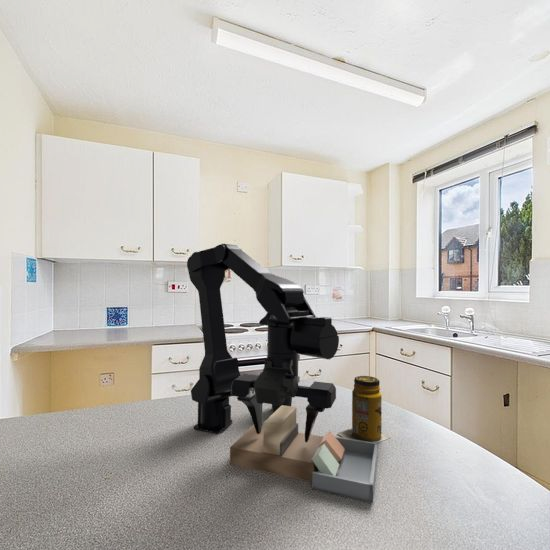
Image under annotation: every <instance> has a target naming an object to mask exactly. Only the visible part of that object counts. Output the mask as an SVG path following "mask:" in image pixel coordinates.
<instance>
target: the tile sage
mask: <svg viewBox="0 0 550 550" xmlns="http://www.w3.org/2000/svg"><path fill="white" fill-rule="evenodd" d="M312 461H313V462H314V464H315V465H316V466H317V468H318V469H319V470H320V472H321V473H323V474H328V475H333V476H336V473H337V470H338V467H339V463H338V462H337V461H336V459H335V458H334V457H333V455H332V454H331V452H330V451H329V450H328V448H327V447H326V446H325V444H323V445H322V446H320V447H319V448H318V449H317V451H316V452H315V454H314V456H313V458H312ZM319 470H318V471H319Z"/></svg>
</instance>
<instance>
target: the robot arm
mask: <svg viewBox="0 0 550 550" xmlns="http://www.w3.org/2000/svg"><path fill="white" fill-rule="evenodd" d="M186 267H187V270H188V276H189V280H190V282H191V284H192V285H193V286H194V288H195V289H196V290H197V292H198V301H199V308H200V309H199V310H200V320H201V327H202V328H201V329H202V337H203V346H204V348H203V349H204V356H203V359H202V360H201V363H200V366H199V368H198V369H199V370H198V371H199V372H198V373H199V375H198V377H199V378H198V380H197V381H196V382H195V384H194V386H193V387H192V388H191V389H190V394H191V395H190V396H191V400H192V402H196V403H197V423H196V424H194V425H193V429H194V430H197V431H202V432H203V431H204V432H208V433H214V434H220V433H222V432H223V431H224V430H225V429H226V428H227V427H228V426H229V425H232V423H233V419H232V417H231V416H232V405H231V404H230V397H236V399H237V401H238V402H242V404H244V405H245V406H246V407H247V410H248V412H249V414H250V417H251V420H252V423H253V425H254V426H255V429H256V432H257V434H260V433H261V428H262V427H263V404H268V405H272V404H273V405H274V406H280V405H282V404H283V403H284V400H285V398H288V397H292V399H293V398H295V397H299V398H304V399H306V401H307V403H308V404H307V405H306V407H305V412H306V418H305V428H304V433H305V442H308V440H309V437H310V435H312V431H313V428H314V425H315V422H316V420H317V416H318V415H319V413H323V412H325V409H331V408H332V406H333V405H334V403H335V401H336V400H337V399H336V398H337V388H336V386H335V384H334V383H332V382H324V381H313V382H312V384H311V385H310V386H308V385H307V386H306V385H299V383H300V377H301V376H299V361H300V360H301V359H300V358H301V357H300V356H301V355H302V356H307V357H312V358H316V359H317V358H318V359H323V360H331V359H333V358H334V357H335V355H336V354H337V351H338V348H339V343H340V337H339V334H338V331H337V329H336V327H335V326H334V325H333V324H332V322H333V321H332V319H333V318H332V317H331V316H320V317H316V314H315V313H314V311H313V310H312V308H311V306H310V304H309V303H308V300H307V299H306V297H305V296H304V293H305V292H304V289H303V287H301V286H300V285H299V284H298V283H295V282H294V281H292V280H290V279H287V278H284V277H282V276H278V275H275V274H273V273H272V272H271V271H269V270H268V269H266V268H265V267H264V266H263V265H261V264H260V263H259V262H257V261H256V260H255V259H253V258H252V256H249V255H248V253H246V252H245V251H243V250H242V248H241V247H240V246H239V245H237V244H228V243H220V244H217V245H216V246H214V247H211V248H206V249H203V250H199V251H195V252H194V251H193V253H192V254H191V255H190V256H189V257H188V258H187V261H186ZM229 270H230V271H232V272H233V273H234V274H235V275H236V276H237V277H239V278H240V279H241V280H242V281H243V282H244V283H245V284H246V285H248V287H250V288H252V290H253V291H254V293H255V297H256V300H257V301H258V303H259V304H260V306H261V307H262V308H263V310H264V311H265V312H266V315H265V316H264V317H263V318H261V319H260V320H259V321H258V324H259V325H260V326H261V325H262V326H267V347H266V348H267V352H266V353H267V355H266V357H265V359H264V361H263V362H264V367H263V369H262V371H261V372H260V373H259V374H250V373H249V374H248V373H242V375H241V372H240V369H239V359H238V358H237V357H233V356H232V355H231V354H230V352H229V350H228V346H227V345H228V344H227V337H226V336H227V335H226V327H225V319H224V312H223V301H222V294H221V287H222V286H223V283H224V280H225V279H226V271H229Z"/></svg>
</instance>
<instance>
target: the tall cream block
mask: <svg viewBox="0 0 550 550" xmlns="http://www.w3.org/2000/svg"><path fill="white" fill-rule="evenodd" d="M263 427H264V436H263V452H266V453H271V454H275V455H280V456H282V455H283V454H284V452H285V451H286V450H287V448H288V447H289V446H290V444H291V443H292V442H293V440H294V439H295V438H296V436H297V435H298V432H299V422H298V423H297V407H296V406H292V405H291V406H284V405H282V406H280V407H279V408H278V409H277V410H276V411H275V412H274V411H273V413H272V414H271V415H269V417H268V418H267V419H266V420H264V421H263Z"/></svg>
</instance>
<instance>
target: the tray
mask: <svg viewBox="0 0 550 550" xmlns="http://www.w3.org/2000/svg"><path fill="white" fill-rule="evenodd" d="M334 436H335V438H336V439H337V440H338V441H339V442H340V444H341V445H342V446H343V447H344V449H345V450H344V453H343V456H342V459H341V460H340V461H339V462H338V463H339V467H338V470H337V473H336V476H333V475H328V474H323V473H321V472H320V470H318V472H313V473H312V482H311V484H312V486H311V487H312V489H311V490H312V491H317V492H320V493H321V492H322V493H327V494H330V495H335V496H339V497H344V498H347V499H348V498H349V499H354V500H358V501H363V502H365V503H371V504H373V503H374V496H375V495H374V494H375V486H376V477H377V467H378V459H379V458H378V457H379V455H378V454H379V446H378V445H379V442H378V443H373V442H367V441H361V440H355V439H348V438H343V437H342V436H337V435H334Z"/></svg>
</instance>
